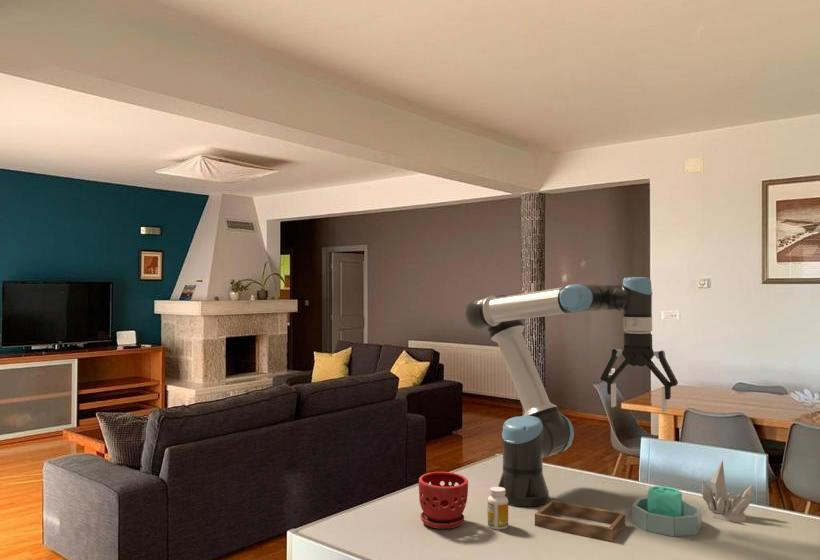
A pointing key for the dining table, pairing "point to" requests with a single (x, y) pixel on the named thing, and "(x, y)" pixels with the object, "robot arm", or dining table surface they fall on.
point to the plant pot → (442, 499)
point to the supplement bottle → (497, 508)
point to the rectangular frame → (577, 527)
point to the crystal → (725, 499)
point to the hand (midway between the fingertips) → (638, 408)
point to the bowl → (667, 519)
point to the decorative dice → (665, 501)
